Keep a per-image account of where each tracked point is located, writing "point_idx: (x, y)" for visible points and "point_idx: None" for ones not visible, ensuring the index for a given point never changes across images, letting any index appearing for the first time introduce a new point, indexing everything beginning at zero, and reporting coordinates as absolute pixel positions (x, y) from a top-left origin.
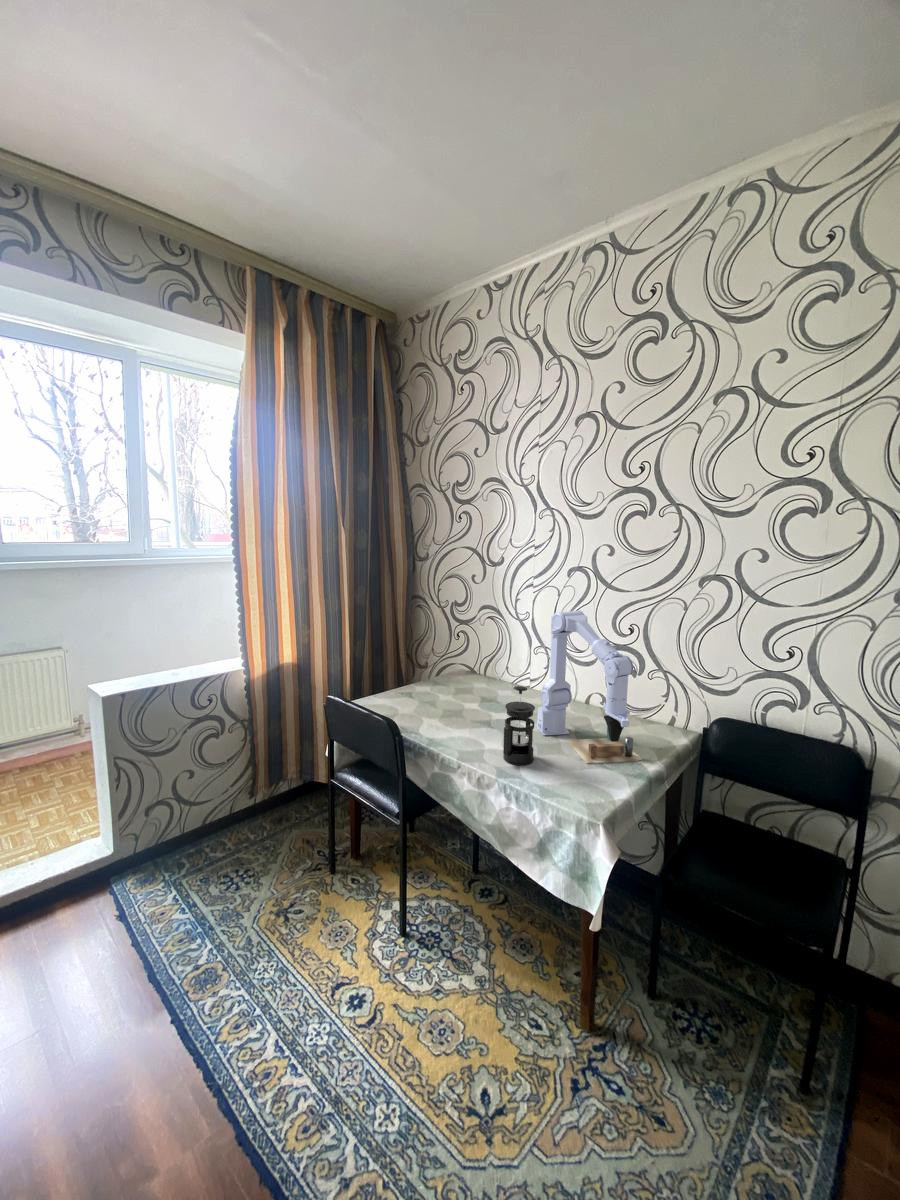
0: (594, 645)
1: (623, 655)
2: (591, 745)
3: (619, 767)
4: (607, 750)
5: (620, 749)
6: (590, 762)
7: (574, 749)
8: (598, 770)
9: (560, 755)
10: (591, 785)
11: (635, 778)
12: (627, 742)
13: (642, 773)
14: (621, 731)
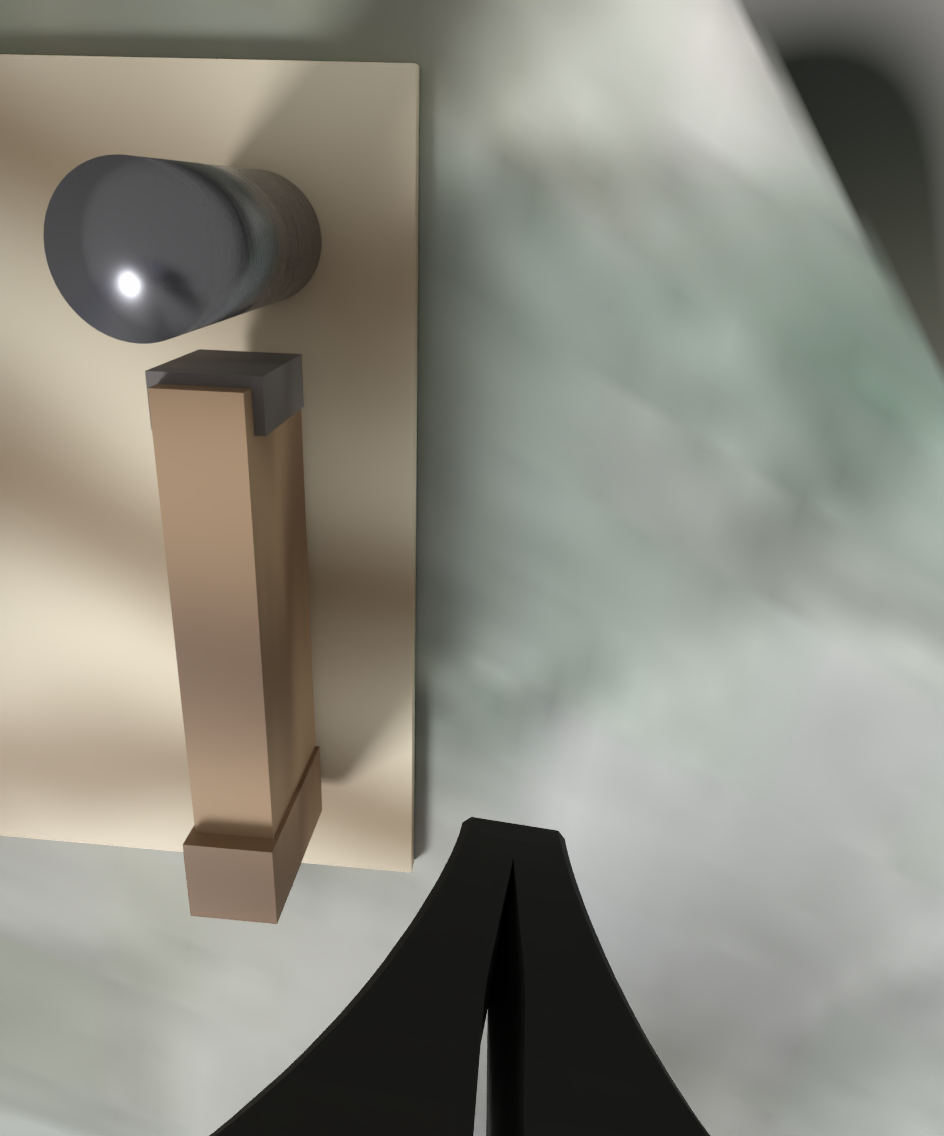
0: None
1: None
2: (248, 907)
3: (562, 545)
4: (284, 645)
5: (272, 433)
6: (408, 834)
7: (55, 834)
8: (579, 815)
9: (188, 1003)
10: (858, 1017)
11: (894, 500)
12: (214, 318)
13: (803, 318)
14: (635, 1022)
